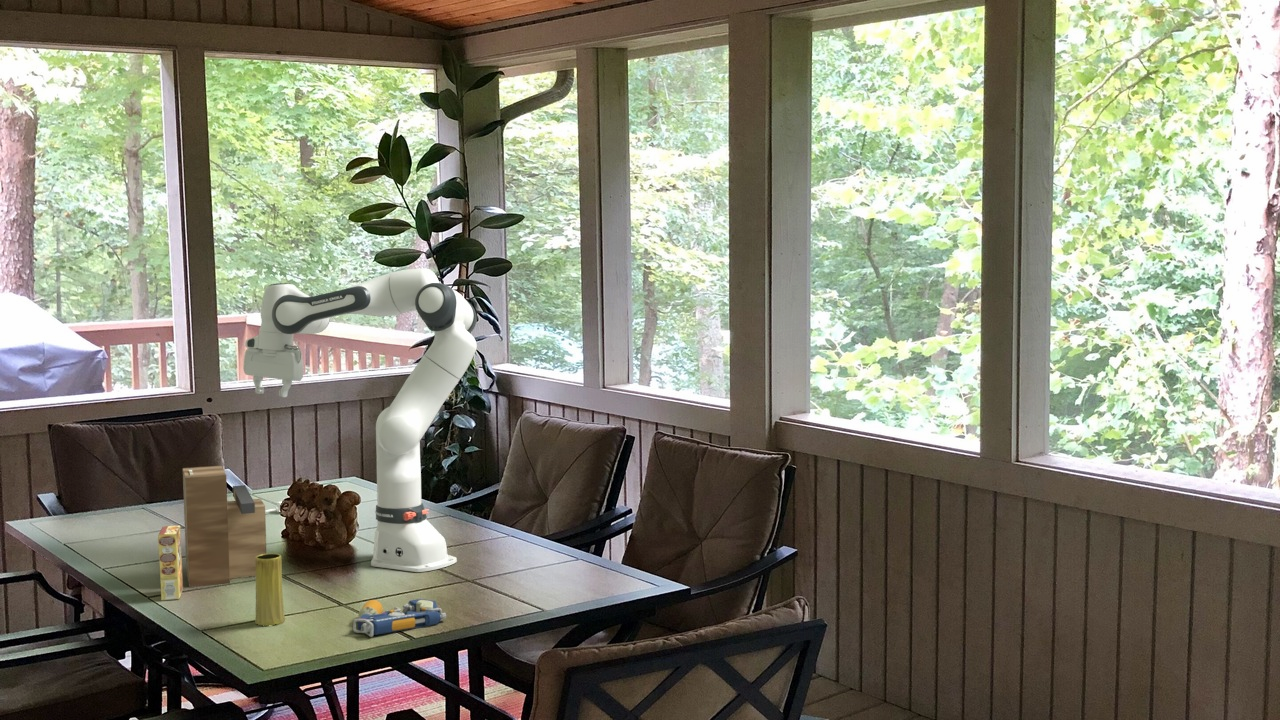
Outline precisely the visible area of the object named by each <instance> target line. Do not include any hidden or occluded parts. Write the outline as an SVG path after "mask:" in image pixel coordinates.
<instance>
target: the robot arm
mask: <svg viewBox="0 0 1280 720" xmlns="http://www.w3.org/2000/svg"><path fill="white" fill-rule="evenodd" d="M261 300H262V301H261V307H260V319H261V324H260V327H259V329H258V332H259V333H258V334H257V335H256V336H253V337H250V338H247V339H246V340H245V346H244V347H246V348H247V349H246V350H244V351H245V352H244V355H243V356H244V357H243V373H244V375H246V376H252V381H253V384H254V387H255V390H254V391H255V394H259V395H263V394H264V393H265V387H264V386H263V384H262V383H263V382H262V381H263V380H264V378H268V379H276V380H281V384H282V386H281V389H279V390H278V397H280V398H287V397H288V395H289V394H288V393H289V390H290V389H291V386H292V383H293V382H300V381H302V379H303V377H304V359H303V352H302V350H301V348H300V347H299V345H293V344H294V335H295V334H299V335H300V334H301V335H315V334H320V333H322V332H323V331H325V330H326V329H327V327H328V326H329V324H330V322H331V321H330V320H331V318H334V317H337V316H342V315H343V316H344V315H364V316H372V317H390V316H398V315H402V314H406V313H410V312H414V311H416V312H417V314H418V315H419V317H420V319H421V321H423V323H424V324H425V325H426V327H427V328H428V329H429V331H431V332H434V333H433V334H434V338H433V342H431V345H430V346H429V347H428V348H427V350H426V352H425V353H424V355H423V356H422V357H421V359H420V360H419V361H418V362H417V364H416V366H415V367H414V368H413V370H412V371H411V373H410V374H409V376H408V377H407V378H406V380H405V382H404V383H403V385H402V386H401V388H400V390H399V391H398V393H397V394H396V396H395V397H394V399H393V401H392V402H391V403H390V405H389V406H387V407H386V408H384V409H383V410H382V411H380V413H379V414H378V417H377V420H376V422H375V446H376V447H375V448H376V449H375V450H376V451H375V453H376V496H377V497H376V498H377V504H376V505H375V511H374V513H375V520H377V521H376V522H377V525H376V529H375V532H374V543H373V553H372V558H371V561H370V566H371V567H375V568H376V567H377V568H384V569H391V570H399V571H405V572H415V573H424V572H428V571H429V572H430V571H435V570H439V569H444V568H445V567H449V566H451V565H454V564H455V563H457V562H458V560H457V556H453V555H450V554H448V549H447V542H446V539H445V537H444V536H443V535H442V534H441V533H440V532H439V531H438V530H437V529H436V527H434V526H433V524H431V523H430V522H429V521H428V519H427V518H428V515H427V514H430V512H428V511H430V509H429V508H425V506H424V503H422V473H421V472H422V469H421V446H420V445H421V444H420V441H421V440H422V439H423V437H424V435H425V433H426V432H427V431H428V429H429V428H430V426H431V424H432V422H434V421H433V420H434V419H435V418H436V416H437V415H438V413H439V411H440V409H441V408H442V406H443V404H444V403H445V401H446V400H447V399H448V398H449V396H450V395H451V393H452V392H453V390H454V389H455V388H456V386H457V385H458V384H459V382H460V380H461V379H462V377H463V376H464V374H465V372H467V369H468V368H469V366H470V364H471V363H472V360H473V359H474V356H475V354H476V351H477V349H478V344H477V341H476V339H475V337H474V336H473V334H471V333H472V332H473V330H474V329H475V327H476V325H477V319H478V318H477V312H476V310H475V308H474V306H473V305H472V304H471V302H469V301H468V300H466V298H464V296H463V295H462V294H461V293H460V292H458V291H457V290H455V289H454V288H451V287H450V286H449V285H447V284H444V283H440V281H439V279H438V277H437V275H436V274H435V272H434V271H433V270H432V269H429V268H426V267H418V268H417V267H416V268H408V269H402V270H397V271H392V272H388V273H385V274H382V275H378V276H376V277H373V278H371V279H369V280H366V281H363V282H361V283H358V284H355V285H353V286H350V287H346V288H343V289H339V290H334V291H330V292H326V293H321V294H317V295H313V296H310V295H308V294H307V293H304V292H303V291H302V290H300V289H299V288H298V287H297V286H296V285H294V284H293V283H289V282H287V283H286V282H284V283H281V282H279V283H273V284H270V285H268V286H266V287H265V289H264V292H263V295H262V299H261Z"/></svg>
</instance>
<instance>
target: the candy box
mask: <svg viewBox="0 0 1280 720" xmlns="http://www.w3.org/2000/svg"><path fill="white" fill-rule="evenodd" d="M157 540H158V557H159V559H158V560H159V577H160V596H161V597H160V598H161V599H160V600H161V601H171V600H179V599H180V598H181V596H182V593H183V590H184V585H183V584H184V581H183V565H182V564H183V562H182V560H183V559H182V539H181V525H169V526H168V525H166V526H162V527H161V530H160V531H159V533H158V534H157Z"/></svg>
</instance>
